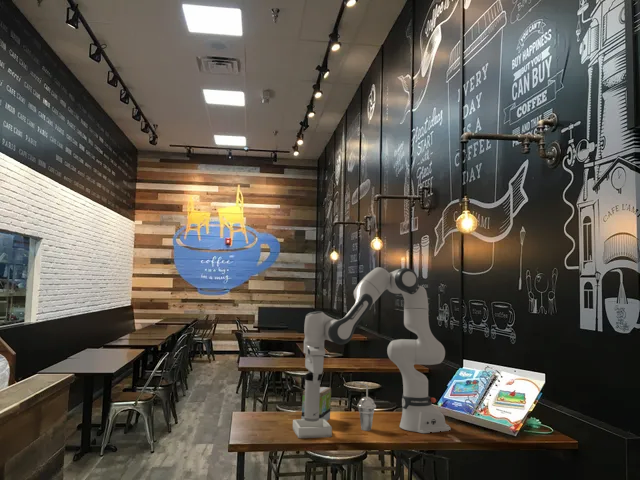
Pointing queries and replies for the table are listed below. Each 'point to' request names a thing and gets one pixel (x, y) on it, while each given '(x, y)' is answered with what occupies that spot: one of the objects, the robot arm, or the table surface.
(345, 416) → the table surface
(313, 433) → the tray
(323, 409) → the tea box
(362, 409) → the cup with straw
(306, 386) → the travel mug
